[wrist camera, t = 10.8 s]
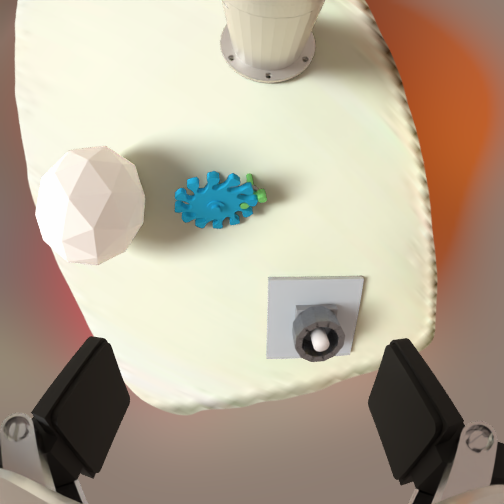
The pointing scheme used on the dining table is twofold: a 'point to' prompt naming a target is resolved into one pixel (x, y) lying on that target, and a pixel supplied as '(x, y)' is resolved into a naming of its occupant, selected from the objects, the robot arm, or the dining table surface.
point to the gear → (218, 200)
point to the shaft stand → (303, 297)
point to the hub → (310, 321)
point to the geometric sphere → (90, 205)
